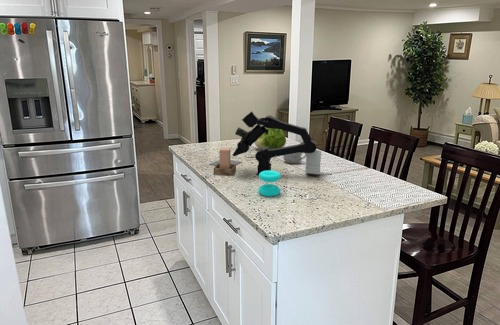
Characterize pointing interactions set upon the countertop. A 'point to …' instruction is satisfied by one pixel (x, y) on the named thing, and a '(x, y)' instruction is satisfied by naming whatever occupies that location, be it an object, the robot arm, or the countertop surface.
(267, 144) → the lettuce
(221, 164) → the terracotta block
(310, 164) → the supplement box
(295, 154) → the teacup
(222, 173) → the wooden frame
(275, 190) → the donuts
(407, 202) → the countertop surface
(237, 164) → the rubber mat
